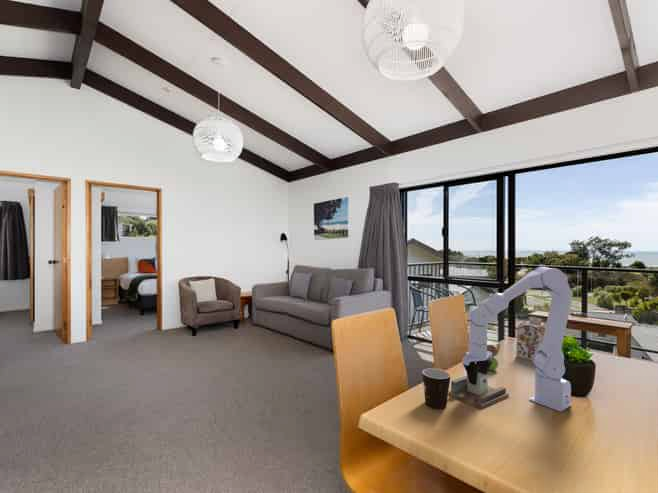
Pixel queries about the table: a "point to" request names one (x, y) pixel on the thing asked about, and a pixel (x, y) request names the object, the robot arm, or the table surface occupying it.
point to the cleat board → (476, 400)
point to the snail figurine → (493, 355)
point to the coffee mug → (436, 387)
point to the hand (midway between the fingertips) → (477, 382)
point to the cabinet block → (478, 385)
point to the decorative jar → (529, 337)
